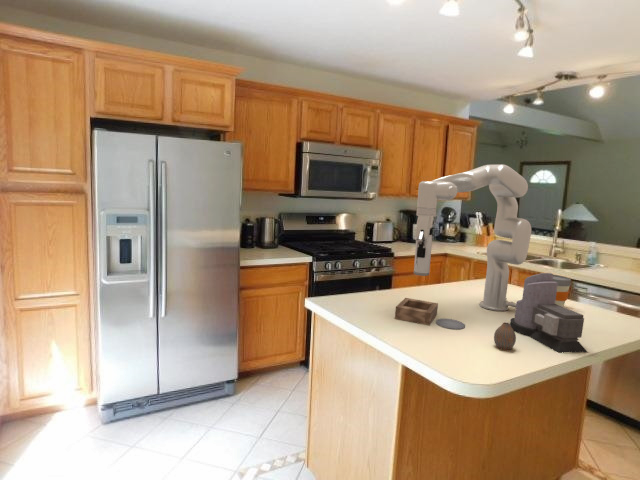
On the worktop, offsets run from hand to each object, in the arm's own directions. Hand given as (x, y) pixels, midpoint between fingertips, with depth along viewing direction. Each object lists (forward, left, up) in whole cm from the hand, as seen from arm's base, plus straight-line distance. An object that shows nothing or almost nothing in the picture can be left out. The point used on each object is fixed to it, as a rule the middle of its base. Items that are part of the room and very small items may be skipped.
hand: (422, 255), depth 168 cm
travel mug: (0, 0, -8) cm, 8 cm away
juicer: (-47, -5, -26) cm, 54 cm away
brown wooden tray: (0, 0, -26) cm, 26 cm away
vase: (-34, +16, -26) cm, 46 cm away
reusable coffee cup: (-53, -53, -26) cm, 79 cm away
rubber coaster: (-14, +2, -26) cm, 29 cm away
